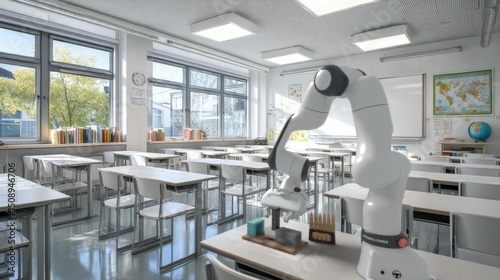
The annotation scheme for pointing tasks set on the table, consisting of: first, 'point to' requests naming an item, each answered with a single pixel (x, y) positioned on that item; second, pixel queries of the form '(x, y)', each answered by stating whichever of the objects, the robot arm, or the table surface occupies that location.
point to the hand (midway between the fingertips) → (275, 219)
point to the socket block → (255, 227)
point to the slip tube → (273, 223)
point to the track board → (280, 240)
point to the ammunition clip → (322, 229)
